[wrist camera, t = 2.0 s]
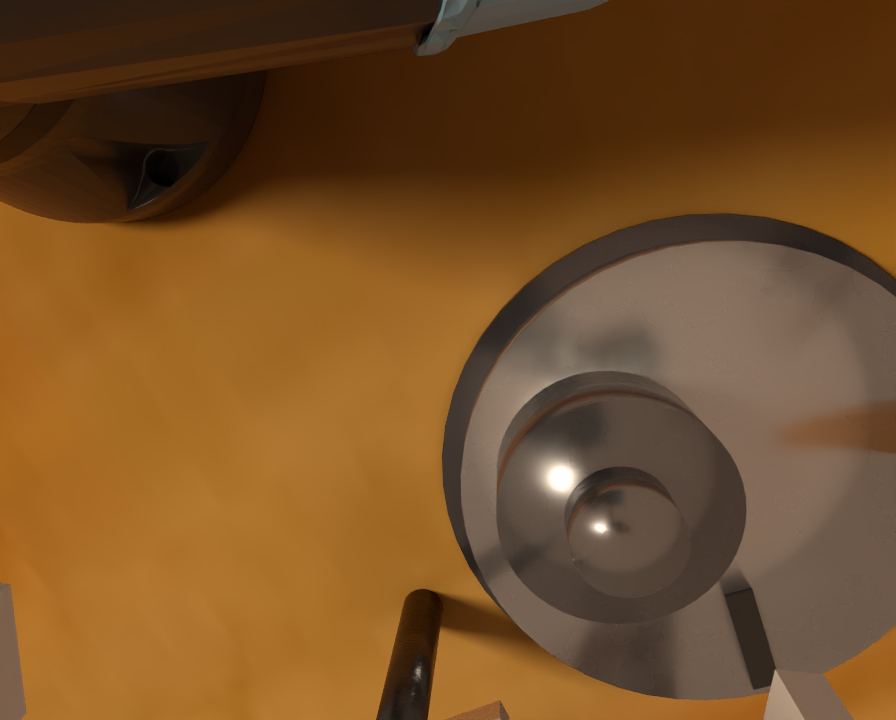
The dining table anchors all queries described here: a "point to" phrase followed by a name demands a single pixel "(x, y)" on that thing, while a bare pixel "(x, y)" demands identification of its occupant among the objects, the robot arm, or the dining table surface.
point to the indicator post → (420, 665)
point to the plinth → (578, 266)
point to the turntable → (746, 439)
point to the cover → (616, 499)
